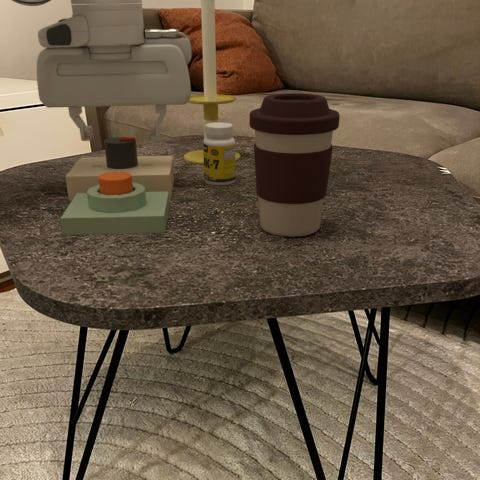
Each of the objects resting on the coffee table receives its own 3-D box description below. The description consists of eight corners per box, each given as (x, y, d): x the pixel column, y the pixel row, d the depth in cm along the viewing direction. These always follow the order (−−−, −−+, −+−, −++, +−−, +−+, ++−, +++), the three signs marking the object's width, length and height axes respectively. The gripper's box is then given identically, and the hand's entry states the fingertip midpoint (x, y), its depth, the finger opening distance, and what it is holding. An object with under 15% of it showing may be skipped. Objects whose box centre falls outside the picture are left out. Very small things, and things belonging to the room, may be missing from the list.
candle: (239, 164, 99) (238, -21, 86) (180, 164, 99) (170, -21, 87) (241, 150, 108) (240, -20, 95) (187, 150, 108) (179, -19, 95)
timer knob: (104, 169, 83) (101, 141, 81) (109, 161, 87) (106, 135, 85) (136, 168, 83) (133, 141, 81) (139, 161, 87) (137, 134, 85)
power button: (97, 197, 71) (95, 180, 70) (102, 187, 74) (100, 171, 73) (131, 196, 71) (129, 179, 70) (134, 187, 74) (133, 171, 73)
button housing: (63, 235, 69) (57, 202, 68) (78, 209, 78) (74, 179, 76) (165, 233, 70) (163, 200, 68) (169, 207, 79) (167, 177, 77)
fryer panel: (68, 201, 81) (65, 175, 79) (83, 180, 91) (80, 156, 89) (170, 199, 82) (169, 173, 80) (174, 178, 92) (173, 154, 90)
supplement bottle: (197, 182, 90) (195, 124, 86) (220, 176, 93) (219, 120, 89) (219, 188, 87) (218, 129, 83) (242, 182, 90) (241, 124, 86)
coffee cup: (333, 217, 75) (342, 91, 68) (328, 245, 66) (339, 105, 59) (256, 212, 77) (257, 89, 69) (242, 239, 68) (242, 102, 61)
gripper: (190, 27, 79) (195, 133, 86) (37, 30, 79) (54, 136, 85) (189, 29, 74) (195, 142, 81) (24, 32, 73) (43, 146, 80)
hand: (121, 139), depth 83 cm, fingers open, 8 cm apart
